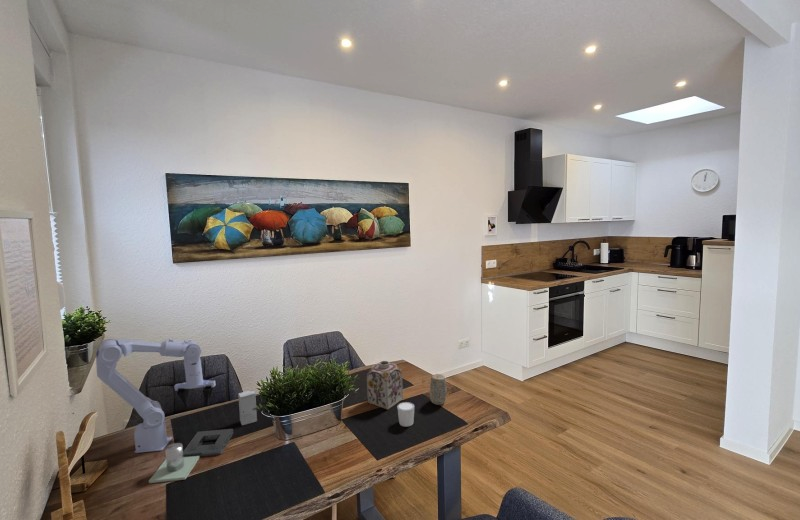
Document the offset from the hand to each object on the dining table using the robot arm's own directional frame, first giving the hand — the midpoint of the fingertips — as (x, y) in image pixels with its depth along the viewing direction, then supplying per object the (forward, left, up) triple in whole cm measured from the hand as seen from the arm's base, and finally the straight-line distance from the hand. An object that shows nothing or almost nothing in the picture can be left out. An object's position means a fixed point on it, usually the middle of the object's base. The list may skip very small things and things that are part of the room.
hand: (197, 405), depth 149 cm
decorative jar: (+75, +11, -11) cm, 76 cm away
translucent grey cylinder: (+2, -24, -10) cm, 26 cm away
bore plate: (+8, -11, -10) cm, 17 cm away
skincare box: (+18, +4, -11) cm, 21 cm away
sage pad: (+2, -24, -10) cm, 26 cm away
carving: (+98, +6, -11) cm, 98 cm away
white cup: (+82, -8, -11) cm, 83 cm away
